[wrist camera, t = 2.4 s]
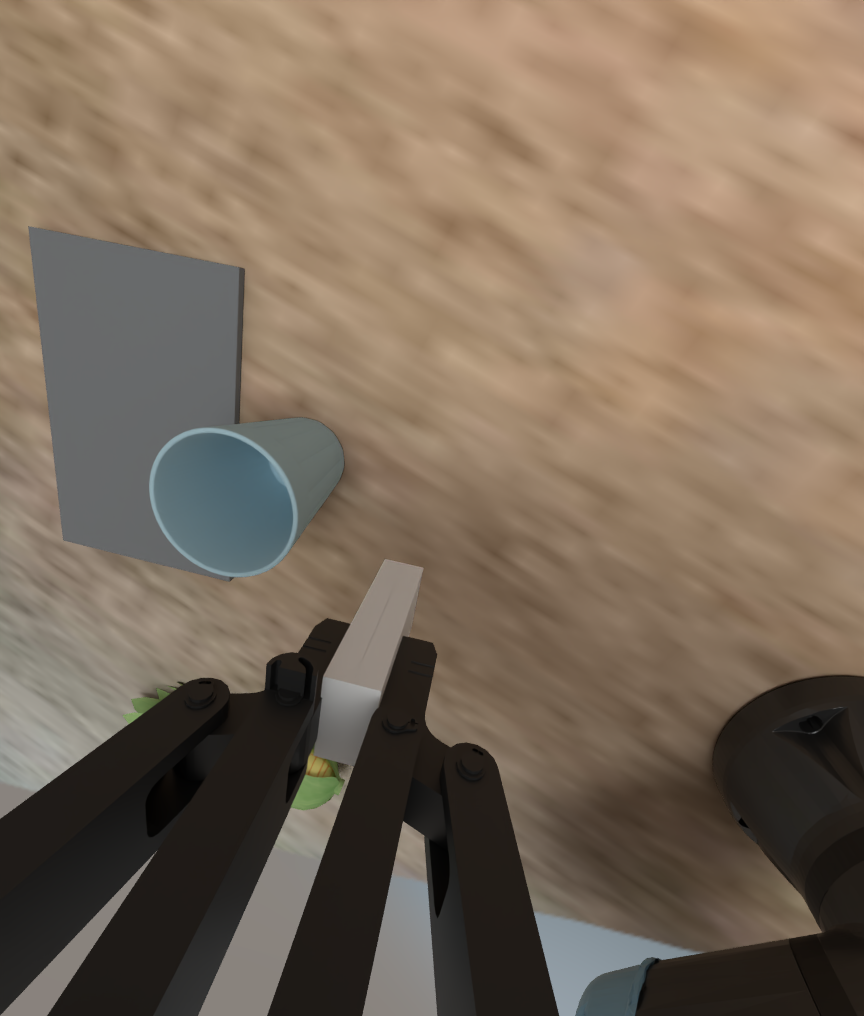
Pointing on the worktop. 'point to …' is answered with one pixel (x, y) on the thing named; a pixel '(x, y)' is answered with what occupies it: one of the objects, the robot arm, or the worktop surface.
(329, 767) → the edible corn
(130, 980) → the robot arm
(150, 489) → the cup
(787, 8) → the worktop surface
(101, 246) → the mat
